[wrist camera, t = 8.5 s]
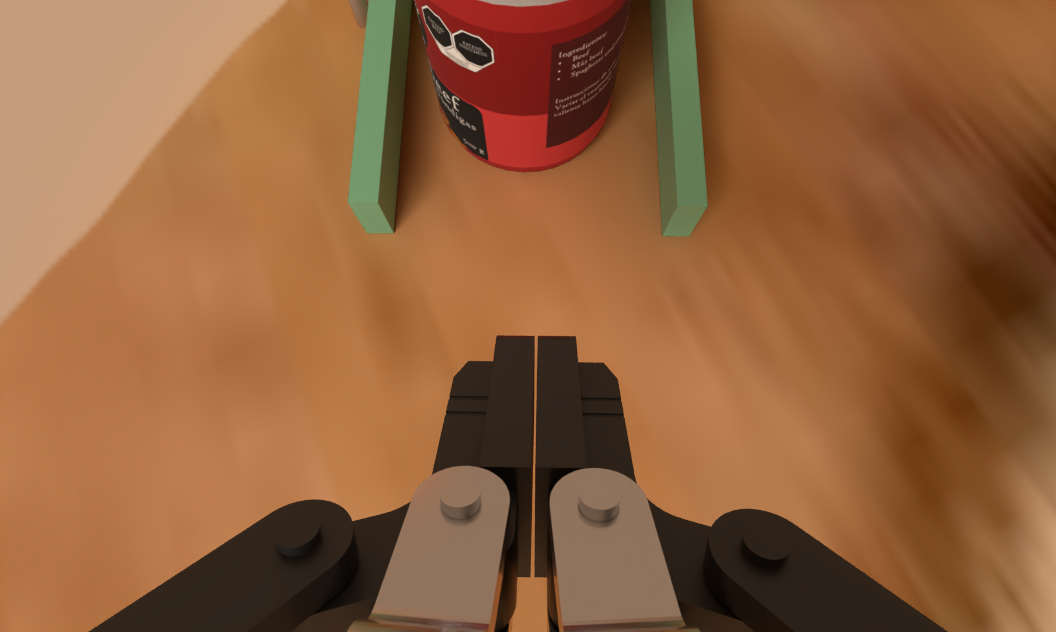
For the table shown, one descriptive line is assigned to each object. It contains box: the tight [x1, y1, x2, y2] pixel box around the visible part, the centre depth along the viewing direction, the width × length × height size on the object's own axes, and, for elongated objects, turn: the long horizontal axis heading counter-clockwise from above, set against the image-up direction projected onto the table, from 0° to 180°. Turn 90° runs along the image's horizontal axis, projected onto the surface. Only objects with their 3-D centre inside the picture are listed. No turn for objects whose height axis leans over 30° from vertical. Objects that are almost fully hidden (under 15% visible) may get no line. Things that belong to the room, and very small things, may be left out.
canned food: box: [414, 0, 632, 172], centre depth 24 cm, size 8×8×11 cm
